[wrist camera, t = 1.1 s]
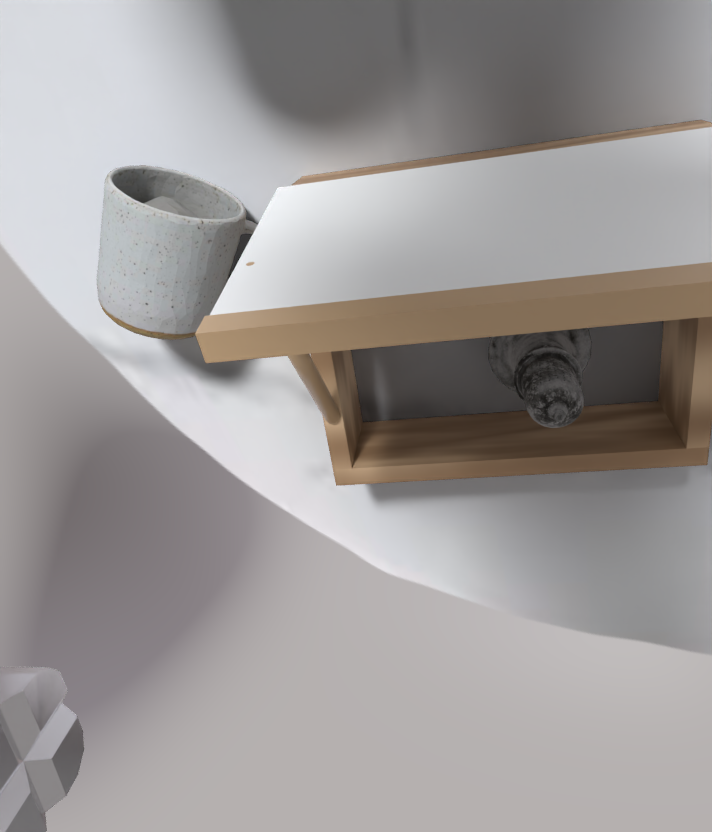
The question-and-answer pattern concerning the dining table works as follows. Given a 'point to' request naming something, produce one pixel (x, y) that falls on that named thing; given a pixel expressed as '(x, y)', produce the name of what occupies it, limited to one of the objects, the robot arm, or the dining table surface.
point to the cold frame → (516, 431)
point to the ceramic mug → (165, 249)
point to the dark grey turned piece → (544, 372)
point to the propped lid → (473, 253)
